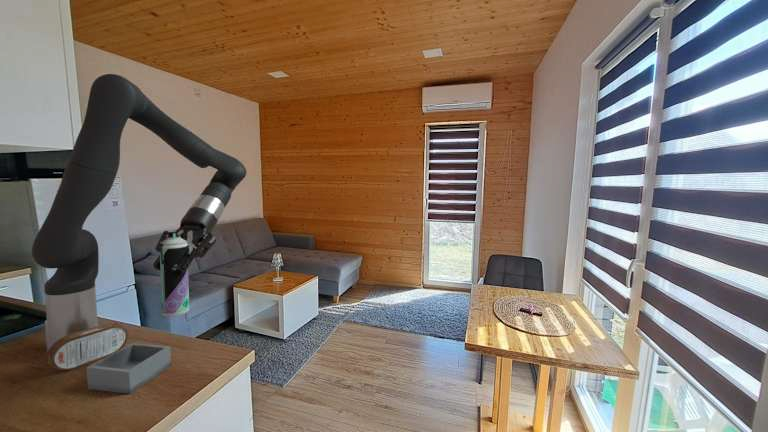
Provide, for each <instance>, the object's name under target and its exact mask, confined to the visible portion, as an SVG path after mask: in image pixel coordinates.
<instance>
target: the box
mask: <svg viewBox="0 0 768 432" xmlns="http://www.w3.org/2000/svg"><path fill="white" fill-rule="evenodd" d="M171 354H172V353H171V346H170V345H158V344H148V343H147V344H146V343H139V342H138V343H137V342H132V343H130V344H128V345H126V346H123V347H122V348H121V349H120V350H119V351H117V352H115V353H113V354H111V355H109V356H107V357H104V358H101V359H99V360H97V361H96V362H94V363H92V364H91V365H88V366H87V367H86V379H87V380H86V381H87V389H89V390H95V391H103V392H111V393H112V392H113V393H121V394H126V395H127V394H128V395H129V394H133V393H134V392H135V391H137V390H138V389H139V388H141V387H142V386H144V385H145V384H147V383H148V382H149V381H151V380H152V379H154V378H155V377H157V376H158V375H160V374H161V373H162V372H164V371H165V370H167V369H168V368H170V367H171V366H172V355H171Z"/></svg>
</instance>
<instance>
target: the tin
mask: <svg viewBox="0 0 768 432" xmlns="http://www.w3.org/2000/svg"><path fill="white" fill-rule="evenodd" d="M128 338H129V332H128V329H127V328H126V327H124V326H123V325H122V324H121V323H118V322H108V323H105V324H101V325H98V326H97V327H93V328H90V329H87V330H83V331H80V332H76V333H72V334H69V335H66V336H64V337H62V338H60V339H59V340H58V341H56V342H55V343H54V344H53V345H52V346H51V347H50V348H49V350H48V352H47V351H46V357H45V358H46V362H47V364H48V365H49V366H50V367H52V368H53V369H54V370H58V371H70V370H74V369H76V368H77V369H78V368H79V367H82V366H85V365H88V364H90V363H93V362H95V361H96V362H97V361H100V360H102V359H104V358H105V357H107V356H109V355H111V354H113V353H115V352H117V351H119V350H121V349H122V348H124V347H125V345H126V344H127V341H128V340H129V339H128Z"/></svg>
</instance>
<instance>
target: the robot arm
mask: <svg viewBox="0 0 768 432" xmlns="http://www.w3.org/2000/svg"><path fill="white" fill-rule="evenodd" d="M128 120H131V121H132V122H135V123H137V124H139V125H141V126H143V127H144V128H146V129H148V130H149V131H150V132H151V133H153V134H155V135H156V136H157V137H159V139H161V140H162V141H164V142H165V144H167V145H168V146H169V147H171V148H172V150H174V151H176V152H177V153H178V154H180V155H181V156H182V157H184V158H185V159H187V160H188V161H190V162H191V163H192V164H194V165H195V166H197V167H198V168H201V169H206V168H208V167H211V168H214V169H216V171H215V173H214V174H213V176H212V177H211V179H210V181H209V183H208V184H207V186H205V188H204V189H203V191H201V193H200V195H199V196H198V197H197V198H196V199H195V201H194V202H193V203H192V204H191V206H190V207H189V208H188V210H187V211H186V212H185V214H184V215H183V216H182V218H181V220H180V223H179V224H180V225H179V228H178V229H176V230H175V231H174V232H178V235H179V236H180V237H181V238H182V239H184V240H186V241H187V242H186V243H187V250H186V255H184V256H183V257H182V259H181V260H180V262H179V263H178V265H177V267H176V269H177V270H178V271H179V272H185V270H187V269H188V270H189V267H190V266H191V264H192V262H193V260H195V259H197V258H200V259H202V258H204V257H205V256H206V254H208V252H209V251H210V249H211V248H213V246H214V244H216V242H217V241H218V239H217V238H216V237H215V236H214V235H213V233H212V232H213V230H214V229H215V227H216V225H217V224H218V222H219V221H220V219H221V217H222V215H223V213H224V210H225V208H226V206H227V205H228V203H229V202H230V200H231V198H232V194H233V192H234V190H235V189H236V188H237V187H238V185H239V184H240V183H241V182H242V181H243V180H244V179H245V178H246V176H247V172H248V171H247V168H246V166H245V165H244V163H243V162H241V161H240V160H238V159H237V158H235V157H234V156H232V155H229V154H227V153H225V152H223V151H220V150H218V149H216V148H214V147H213V146H211V145H210V144H209V143H207V142H206V141H205V140H204V139H202V138H201V137H199V136H198V135H196V134H195V133H194V132H192V131H191V130H190V129H187V128H186V127H184V126H183V125H182V124H180V123H179V122H177V121H176V120H174V119H173V118H172V117H170V116H168V114H166V113H165V112H164V111H163V110H161V109H160V108H159V107H158V106H157V105H156V104H155V103H154V102H153V101H152V100H150V99H149V98H148V96H146V95H145V94H144V92H143V91H142V90H141V88H139V87H138V86H137V85H136V84H135V83H133V82H132V81H130V80H129V79H127V78H126V77H123V76H121V75H119V74H115V73H107V74H106V73H105V74H102V75H100V76H98V77H97V78H95V80H94V81H93V82H92V84H91V87H90V89H89V95H88V102H87V106H86V112H85V116H84V120H83V123H82V126H81V128H80V131H79V132H78V135H77V137H76V140H75V143H74V146H73V149H72V151H71V152H70V155H69V157H68V160H67V163H66V166H65V169H64V172H63V173H62V178H61V181H60V184H59V187H58V190H57V191H56V193H55V197H54V198H53V199H54V200H53V202H52V204H51V207H50V210H49V212H48V213H47V216H46V218H44V219H45V220H44V222H43V223H42V225H41V227H40V228H39V231H38V232H37V234H36V236H35V238H34V239H33V242H32V246H31V255H32V258H33V260H34V262H35V263H36V264H37V265H38V266H40V267H42V268H45V269H51V270H52V269H56V270H55V272H54V274H53V275H52V276H50V278H49V279H47V281H46V282H45V283H44V286H43V288H44V289H43V290H44V301H45V310H46V311H45V313H46V320H45V321H44V333H45V343H46V353H47V352H48V350H49V348H50V347H51V346H52V345H53V344H54V343H55V342H56V341H58V340H59V339H60V338H62V337H64V336H66V335H69V334H72V333H76V332H80V331H83V330H87V329H90V328H93V327H97V326H99V323H98V322H99V321H98V309H97V308H98V307H97V293H96V292H97V291H96V279H97V277H98V275H99V265H100V264H99V257H100V255H99V253H100V252H99V244H98V243H99V242H98V241H97V238H96V236H95V235H94V234H93V233H92V232H91V231H89V230H87V229H83V227H84V224H85V222H86V220H87V218H88V217H89V216H90V214H91V213H92V212H93V210H95V209H96V207H98V205H100V203H102V201H103V200H104V199H105V198H106V196H108V194H109V193H110V191H111V189H112V187H113V185H114V182H115V180H116V177H117V173H118V171H119V167H120V162H121V161H120V160H121V137H122V134H123V131H124V128H125V126H126V124H127V122H128ZM169 232H170V231H168V230H164V231H163V232H162V234H161V236H160V238H159V240H158V242H157V244H156V246H155V248H154V249H155V251H156V252H158V253H159V255H158V256H157V258H156V259H155V261H154V262H153V264H152V266H153V269H155V270H156V271H160V245H161V244H160V242H162V241H164V240H165V239H166V237H168V236H169Z"/></svg>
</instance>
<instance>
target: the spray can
mask: <svg viewBox="0 0 768 432" xmlns="http://www.w3.org/2000/svg"><path fill="white" fill-rule="evenodd" d="M168 232H169V236H168V237H166V239H165V240H164V241H162V242H160V244H161V245H160V253H159V255H160V270H159V271H160V290H161V291H160V292H161V293H160V295H161V298H160V299H161V315H162V316H163V317H166V318H167V317H176V316H182V315H185V314H186V313H188V312H189V311H190V291H189V288H190V285H189V268H188V269H187V270H185V272H179V271H178V270H177V269H176V267H177V265H178V263H179V262H180V260H181V259H182V257H183V256H184V255H186V250H187V243H186V242H187V241H186V240H184V239H182V238H181V237H180V236H179V235H178V232H175V231H174V232H173V231H168Z"/></svg>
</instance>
